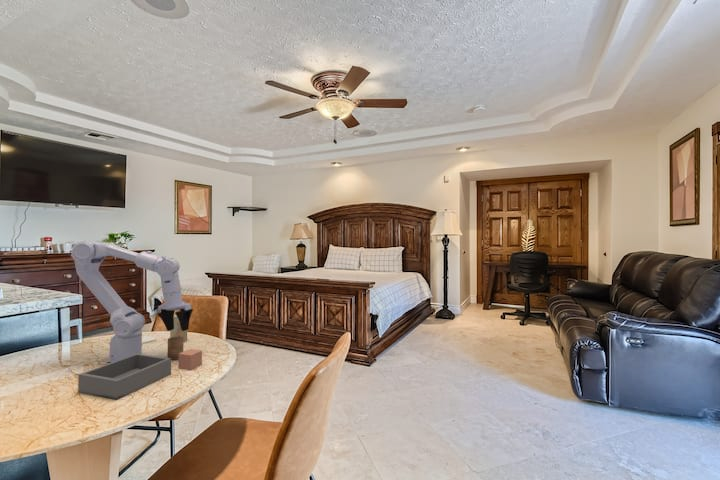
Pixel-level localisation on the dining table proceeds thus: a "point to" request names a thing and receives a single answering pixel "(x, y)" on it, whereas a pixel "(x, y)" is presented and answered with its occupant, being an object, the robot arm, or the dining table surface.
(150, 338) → the external hard drive
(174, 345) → the walnut cylinder
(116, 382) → the tote
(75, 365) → the dining table surface
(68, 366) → the dining table surface
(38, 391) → the dining table surface
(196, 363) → the cube
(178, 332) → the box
